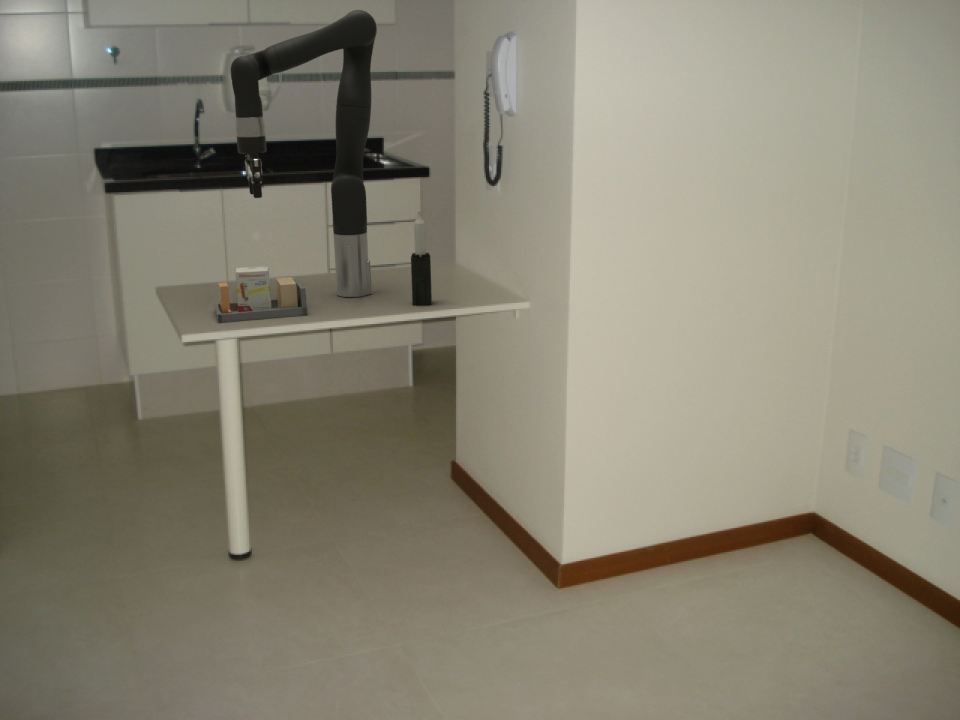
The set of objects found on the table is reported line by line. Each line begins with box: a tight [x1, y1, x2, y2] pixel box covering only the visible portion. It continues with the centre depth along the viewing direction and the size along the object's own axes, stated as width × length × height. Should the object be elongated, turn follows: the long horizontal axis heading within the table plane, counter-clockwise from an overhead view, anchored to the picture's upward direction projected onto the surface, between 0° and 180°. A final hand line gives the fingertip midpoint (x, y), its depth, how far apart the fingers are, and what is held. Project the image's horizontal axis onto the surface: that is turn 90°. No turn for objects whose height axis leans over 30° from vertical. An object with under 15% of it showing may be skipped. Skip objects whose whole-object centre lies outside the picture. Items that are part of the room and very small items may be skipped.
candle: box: [410, 209, 433, 306], centre depth 265 cm, size 5×5×25 cm
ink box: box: [234, 266, 273, 312], centre depth 259 cm, size 9×5×12 cm, turn 102°
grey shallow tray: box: [213, 278, 308, 324], centre depth 260 cm, size 22×13×7 cm, turn 108°
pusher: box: [218, 281, 232, 314], centre depth 257 cm, size 2×10×8 cm, turn 18°
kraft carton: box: [275, 276, 298, 309], centre depth 262 cm, size 4×9×8 cm, turn 18°
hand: (255, 196), depth 271 cm, fingers open, 8 cm apart
